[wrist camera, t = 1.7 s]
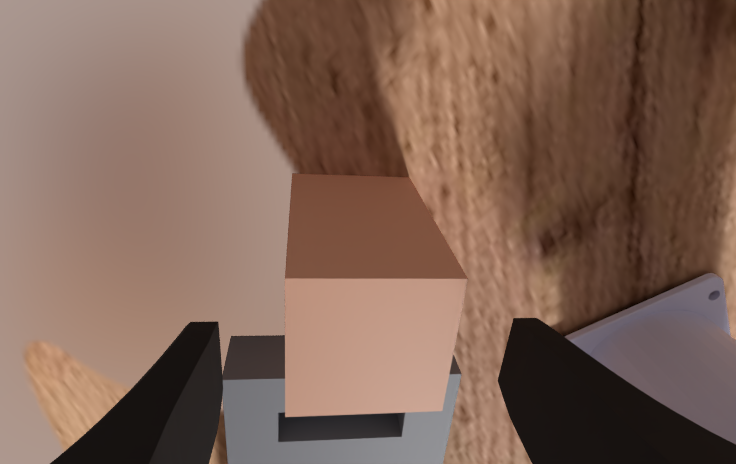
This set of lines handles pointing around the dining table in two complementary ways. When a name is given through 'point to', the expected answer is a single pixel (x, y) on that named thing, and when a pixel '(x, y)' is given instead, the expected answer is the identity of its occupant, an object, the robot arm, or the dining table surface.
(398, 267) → the peg
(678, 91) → the dining table surface
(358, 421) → the socket board
